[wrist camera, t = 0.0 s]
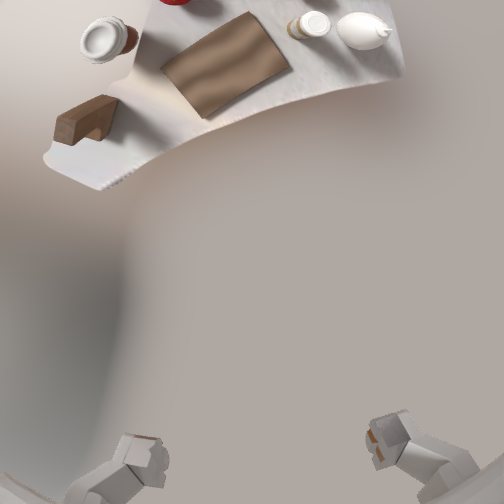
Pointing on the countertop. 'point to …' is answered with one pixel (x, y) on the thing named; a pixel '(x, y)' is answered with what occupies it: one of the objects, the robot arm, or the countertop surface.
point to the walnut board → (224, 64)
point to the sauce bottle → (363, 31)
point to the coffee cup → (107, 40)
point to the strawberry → (175, 2)
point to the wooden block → (86, 121)
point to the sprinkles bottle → (309, 26)
